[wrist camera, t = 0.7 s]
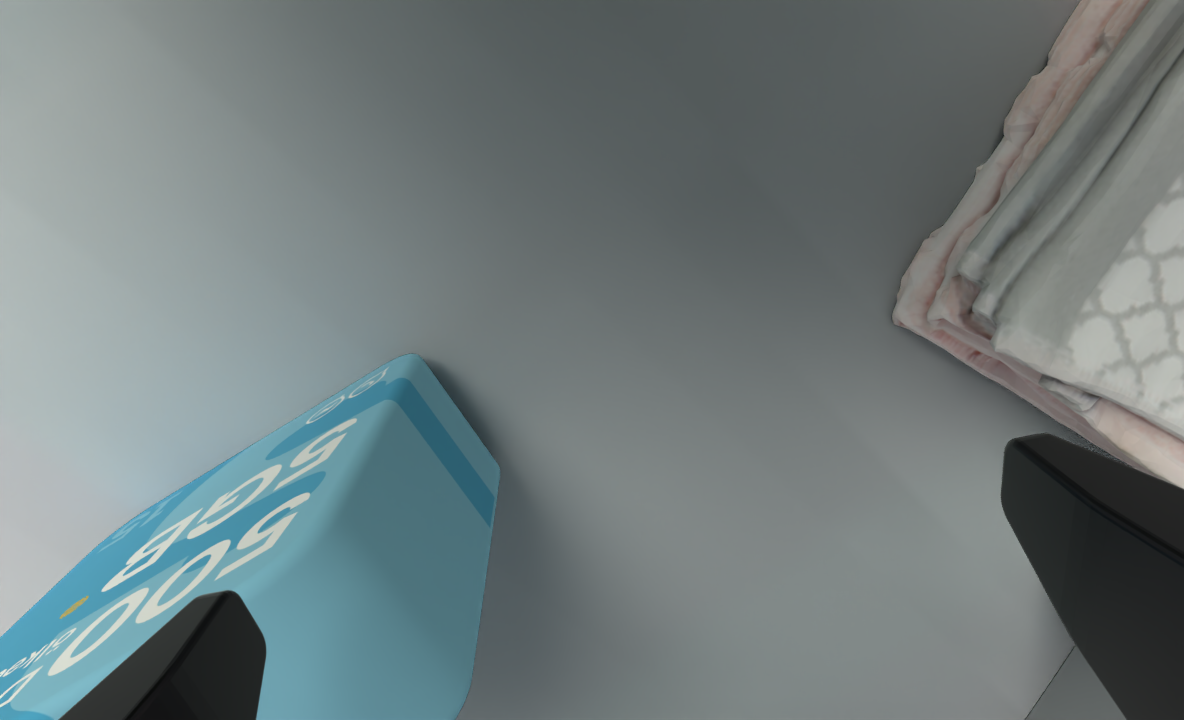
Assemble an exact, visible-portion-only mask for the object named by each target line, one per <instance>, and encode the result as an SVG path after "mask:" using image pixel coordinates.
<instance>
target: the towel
mask: <svg viewBox="0 0 1184 720" xmlns="http://www.w3.org/2000/svg"><path fill="white" fill-rule="evenodd" d="M1048 58H1049V60H1048V63H1047V66H1046V67H1045V68H1044V69H1043V71H1042V72H1041V73H1040V74H1037V75H1034V76H1032V77H1031V79H1030V81H1029V82H1028V84H1027V85H1026V87H1025V89H1024V90H1023V91H1022V92H1021V93H1020V94H1019V95H1018V96H1017V98H1016V100H1015V102H1014V104H1013V107H1012V109H1011V111H1010V112H1009V114H1008V115H1007V117H1006V118H1005V120H1004V129H1003V132H1004V137H1003V139H1002V140H1001V142H1000V143H999V145H998V146H997V148H996V149H995V151H994V152H993V153H992V155H991V156H990V158H989V159H988V160H987V162H985V163H984V164H983V165H981V166H979V167H977V168H976V174H975V178H974V182H973V183H972V185H971V186H970V188H969V189H968V191H967V192H966V194H965V195H964V197H963V198H962V200H961V201H960V203H959V204H958V206H957V207H956V209H955V210H954V211H953V213H952V214H951V215H950V217H949V218H948V220H947V221H946V222H945V224H944V225H943V226H942V227H940V228H938V229H936V230H935V231H933V232H931V234H930V236H929V238H928V239H926V240H924V241H923V243H922V245H921V247H920V248H919V250H918V252H917V253H916V255H915V257H914V259H913V260H912V262H911V264H910V266H909V268H908V269H907V271H906V272H905V274H904V275H903V277H902V279H901V284H900V286H901V287H900V290H899V292H898V294H897V304H896V306H895V308H894V311H893V314H892V320H893V323H894V325H897V326H900V327H903V328H906V329H909V330H911V331H912V332H914V333H915V334H917V335H919V336H922V337H924V338H926V339H927V340H929V341H931V342H933V343H935V344H936V345H938V346H940V347H941V348H943V349H945V350H946V351H948V352H949V353H950V354H952V355H953V356H955V357H956V358H957V359H959V360H961V361H962V362H964V363H965V364H967V365H968V366H970V367H971V368H973V369H974V370H976V371H978V372H979V373H981V374H982V375H984V376H985V377H987V378H989V379H991V380H993V381H995V382H998V383H999V384H1001V385H1002V386H1004V387H1006V388H1007V389H1009V390H1010V391H1012V392H1014V393H1015V394H1017V395H1019V396H1020V397H1022V398H1023V399H1025V400H1027V401H1028V402H1030V403H1031V404H1033V405H1034V406H1036V407H1037V408H1039V409H1040V410H1042V411H1043V412H1045V413H1046V414H1047V415H1049V416H1050V417H1052V418H1053V419H1055V420H1056V421H1058V422H1059V423H1061V424H1063V425H1064V426H1066V427H1068V428H1070V429H1071V430H1073V431H1075V432H1076V433H1078V434H1079V435H1081V436H1082V437H1084V438H1085V439H1087V440H1088V441H1090V442H1091V443H1093V444H1094V445H1096V446H1098V447H1100V448H1102V449H1104V450H1105V451H1106V452H1108V453H1109V454H1111V455H1112V456H1114V457H1116V458H1118V459H1120V460H1122V461H1124V462H1125V463H1127V464H1128V465H1130V466H1131V467H1133V468H1134V469H1137V470H1139V471H1142V472H1144V473H1147V474H1149V475H1151V476H1154V477H1156V478H1159V479H1161V480H1164V481H1166V482H1168V483H1171V484H1173V485H1176V486H1178V487H1181V488H1183V489H1184V0H1081V1H1080V3H1079V4H1078V6H1077V7H1076V9H1075V10H1074V11H1073V13H1072V14H1071V16H1070V17H1069V19H1068V21H1067V22H1066V24H1065V26H1064V27H1063V29H1062V31H1061V32H1060V34H1059V36H1058V37H1057V39H1056V41H1055V43H1054V44H1053V46H1052V48H1051V50H1050V52H1049V53H1048Z"/></svg>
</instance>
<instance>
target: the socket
mask: <svg viewBox="0 0 1184 720" xmlns="http://www.w3.org/2000/svg"><path fill="white" fill-rule="evenodd" d="M1026 720H1126V719H1125V717H1124V716H1123V714H1122V713H1121V711H1120V710H1119V708H1118V707H1117V705H1116V704H1115V702H1114V701H1113V699H1112V698H1111V696H1110V695H1109V694H1108V692H1107V691H1106V689H1105V688H1104V686H1103V685H1102V683H1101V682H1100V680H1099V679H1098V677H1097V676H1096V674H1095V673H1094V672H1093V670H1092V669H1091V667H1090V666H1089V664H1088V663H1087V661H1086V660H1085V658H1084V657H1083V655H1082V654H1081V652H1080V651H1079V649H1078V648H1077V646H1075V647H1074V649H1073V650H1072V652H1071V653H1070V655H1069V656H1068V658H1067V659H1066V661H1065V662H1064V664H1063V665H1062V667H1061V668H1060V670H1059V671H1058V673H1057V674H1056V676H1055V677H1054V678H1053V680H1052V681H1051V683H1050V684H1049V686H1048V687H1047V689H1046V690H1045V692H1044V693H1043V695H1042V696H1041V698H1040V699H1039V701H1038V702H1037V704H1036V705H1035V707H1034V708H1033V709H1032V711H1031V712H1030V714H1029V715H1028V717H1027V718H1026Z"/></svg>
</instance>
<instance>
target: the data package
mask: <svg viewBox="0 0 1184 720" xmlns="http://www.w3.org/2000/svg"><path fill="white" fill-rule="evenodd" d="M499 481H500V468H499V465H498V464H497V462H496V461H495V460H494V458H493V457H492V455H491V454H490V453H489V451H488V450H487V448H486V447H485V446H484V444H483V443H482V441H481V440H480V439H479V437H478V436H477V434H476V433H475V432H474V430H473V429H472V427H471V426H470V425H469V423H468V422H467V420H466V419H465V418H464V416H463V415H462V413H461V412H460V411H459V409H458V408H457V406H456V405H455V404H454V402H453V401H452V399H451V398H450V397H449V395H448V394H447V392H446V391H445V390H444V388H443V387H442V385H441V384H440V383H439V381H438V380H437V378H436V377H435V376H434V374H433V373H432V371H431V370H430V369H429V367H428V366H427V364H426V363H425V362H424V360H423V359H422V358H421V357H420V356H419V355H417V354H406V355H403V356H400V357H398V358H396V359H394V360H392V361H390V362H388V363H386V364H384V365H382V366H381V367H379V368H377V369H376V370H374V371H372V372H371V373H369V374H367V375H366V376H364V377H363V378H361V379H359V380H358V381H356V382H354V383H353V384H351V385H349V386H348V387H346V388H345V389H343V390H341V391H340V392H338V393H336V394H335V395H333V396H331V397H330V398H328V399H327V400H325V401H323V402H322V403H320V404H318V405H317V406H315V407H313V408H312V409H310V410H309V411H307V412H305V413H304V414H302V415H300V416H299V417H297V418H295V419H294V420H292V421H291V422H289V423H287V424H286V425H284V426H282V427H281V428H279V429H277V430H276V431H274V432H272V433H271V434H269V435H268V436H266V437H264V438H263V439H261V440H259V441H258V442H256V443H254V444H253V445H251V446H250V447H248V448H246V449H245V450H243V451H241V452H240V453H238V454H236V455H235V456H233V457H232V458H230V459H228V460H227V461H225V462H223V463H222V464H220V465H218V466H217V467H215V468H214V469H212V470H210V471H209V472H207V473H205V474H204V475H202V476H200V477H199V478H197V479H196V480H194V481H192V482H191V483H189V484H187V485H186V486H184V487H182V488H181V489H179V490H178V491H176V492H174V493H173V494H171V495H169V496H168V497H166V498H164V499H163V500H161V501H159V502H158V503H156V504H155V505H153V506H151V507H150V508H148V509H147V510H145V511H143V512H142V513H140V514H139V515H137V516H136V517H134V518H133V519H132V520H130V521H129V522H127V523H126V524H125V525H123V526H122V527H121V528H119V529H118V530H117V531H115V532H114V533H113V534H111V535H110V536H109V537H108V538H106V539H105V540H104V541H103V542H101V543H100V544H99V545H98V546H97V547H95V548H94V549H93V550H92V551H91V552H90V553H89V554H88V555H87V556H86V557H85V558H84V559H83V560H81V561H80V562H79V563H78V564H77V565H76V566H75V567H74V568H73V569H72V570H71V571H70V572H69V573H68V574H67V575H66V576H65V577H64V578H62V579H61V580H60V581H59V582H58V583H57V584H56V585H55V586H54V587H53V588H52V589H51V590H50V591H49V592H48V593H47V594H46V595H45V596H44V597H42V598H41V599H40V600H39V601H38V602H37V603H36V604H35V605H34V606H33V607H32V608H31V609H30V610H29V611H28V612H27V613H26V614H25V615H23V616H22V617H21V618H20V619H19V620H18V621H17V622H16V623H15V624H14V625H13V626H12V627H11V628H10V629H9V630H8V631H7V632H6V633H5V634H3V635H2V636H1V637H0V720H58V719H59V718H61V717H62V716H63V715H64V714H65V713H66V712H67V711H68V710H69V709H71V708H72V707H73V706H74V705H75V704H76V703H77V702H78V701H80V700H81V699H82V698H83V697H84V696H85V695H86V694H87V693H89V692H90V691H91V690H92V689H93V688H94V687H95V686H96V685H98V684H99V683H100V682H101V681H102V680H103V679H104V678H105V677H106V676H108V675H109V674H110V673H111V672H112V671H113V670H114V669H115V668H117V667H118V666H119V665H120V664H121V663H122V662H123V661H124V660H126V659H127V658H128V657H129V656H130V655H131V654H132V653H133V652H135V651H136V650H137V649H138V648H139V647H140V646H141V645H142V644H143V643H145V642H146V641H147V640H148V639H149V638H150V637H151V636H152V635H154V634H155V633H156V632H157V631H158V630H159V629H160V628H161V627H163V626H164V625H165V624H166V623H167V622H168V621H169V620H170V619H171V618H173V617H174V616H175V615H176V614H177V613H178V612H179V611H180V610H182V609H183V608H184V607H185V606H186V605H187V604H188V603H189V602H191V601H192V600H193V599H194V598H196V597H198V596H200V595H203V594H208V593H213V592H219V591H224V590H232V591H234V592H236V593H237V594H239V596H240V597H241V598H242V600H243V602H244V603H245V605H246V607H247V608H248V610H249V612H250V613H251V615H252V617H253V618H254V620H255V622H256V623H257V625H258V627H259V628H260V630H261V632H262V633H263V636H264V638H265V642H266V662H265V668H264V674H263V680H262V687H261V693H260V699H259V705H258V712H257V718H256V720H455V719H456V718H457V716H458V714H459V712H460V710H461V709H462V707H463V704H464V702H465V700H466V698H467V695H468V692H469V689H470V685H471V681H472V675H473V668H474V660H475V653H476V646H477V639H478V632H479V624H480V617H481V610H482V603H483V596H484V589H485V581H486V574H487V567H488V560H489V553H490V545H491V538H492V531H493V524H494V517H495V510H496V502H497V495H498V488H499Z"/></svg>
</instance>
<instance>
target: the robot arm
mask: <svg viewBox="0 0 1184 720" xmlns="http://www.w3.org/2000/svg"><path fill="white" fill-rule="evenodd" d="M1001 503H1002V507H1003V511H1004V513H1005V516H1006V518H1007V520H1008V522H1009V524H1010V526H1011V527H1012V529H1013V531H1014V533H1015V535H1016V537H1017V539H1018V541H1019V542H1020V544H1021V546H1022V548H1023V550H1024V552H1025V554H1026V556H1027V557H1028V559H1029V561H1030V563H1031V565H1032V567H1033V569H1034V571H1035V572H1036V574H1037V576H1038V578H1039V580H1040V582H1041V584H1042V586H1043V587H1044V589H1045V591H1046V593H1047V595H1048V597H1049V599H1050V601H1051V602H1052V604H1053V606H1054V608H1055V610H1056V612H1057V614H1058V616H1059V617H1060V619H1061V621H1062V623H1063V624H1064V626H1065V628H1066V630H1067V631H1068V633H1069V635H1070V637H1071V638H1072V640H1073V641H1074V643H1075V644H1076V646H1077V648H1078V649H1079V651H1080V652H1081V654H1082V655H1083V657H1084V658H1085V660H1086V661H1087V663H1088V664H1089V666H1090V667H1091V669H1092V670H1093V672H1094V673H1095V674H1096V676H1097V677H1098V679H1099V680H1100V682H1101V683H1102V685H1103V686H1104V688H1105V689H1106V691H1107V692H1108V694H1109V695H1110V696H1111V698H1112V699H1113V701H1114V702H1115V704H1116V705H1117V707H1118V708H1119V710H1120V711H1121V713H1122V714H1123V716H1124V717H1125V719H1126V720H1184V489H1183V488H1181V487H1178V486H1176V485H1173V484H1171V483H1168V482H1166V481H1164V480H1161V479H1159V478H1156V477H1154V476H1151V475H1149V474H1147V473H1144V472H1142V471H1139V470H1137V469H1134V468H1132V467H1129V466H1127V465H1125V464H1122V463H1120V462H1117V461H1115V460H1112V459H1110V458H1108V457H1105V456H1103V455H1100V454H1098V453H1095V452H1093V451H1090V450H1088V449H1086V448H1083V447H1081V446H1078V445H1076V444H1073V443H1071V442H1069V441H1066V440H1064V439H1061V438H1059V437H1056V436H1054V435H1051V434H1046V433H1041V434H1035V435H1030V436H1024V437H1019V438H1014V439H1012V440H1010V441H1009V442H1008V443H1007V445H1006V447H1005V451H1004V460H1003V473H1002V486H1001ZM265 662H266V642H265V638H264V636H263V633H262V632H261V630H260V628H259V627H258V625H257V623H256V622H255V620H254V618H253V617H252V615H251V613H250V612H249V610H248V608H247V607H246V605H245V603H244V602H243V600H242V598H241V597H240V596H239V594H237V593H236V592H234V591H232V590H224V591H219V592H213V593H208V594H203V595H200V596H198V597H196V598H194V599H193V600H192V601H191V602H189V603H188V604H187V605H186V606H185V607H184V608H183V609H182V610H180V611H179V612H178V613H177V614H176V615H175V616H174V617H173V618H171V619H170V620H169V621H168V622H167V623H166V624H165V625H164V626H163V627H161V628H160V629H159V630H158V631H157V632H156V633H155V634H154V635H152V636H151V637H150V638H149V639H148V640H147V641H146V642H145V643H143V644H142V645H141V646H140V647H139V648H138V649H137V650H136V651H135V652H133V653H132V654H131V655H130V656H129V657H128V658H127V659H126V660H124V661H123V662H122V663H121V664H120V665H119V666H118V667H117V668H115V669H114V670H113V671H112V672H111V673H110V674H109V675H108V676H106V677H105V678H104V679H103V680H102V681H101V682H100V683H99V684H98V685H96V686H95V687H94V688H93V689H92V690H91V691H90V692H89V693H87V694H86V695H85V696H84V697H83V698H82V699H81V700H80V701H78V702H77V703H76V704H75V705H74V706H73V707H72V708H71V709H69V710H68V711H67V712H66V713H65V714H64V715H63V716H62V717H61V718H59V719H58V720H256V718H257V712H258V705H259V699H260V693H261V687H262V680H263V674H264V668H265Z"/></svg>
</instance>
